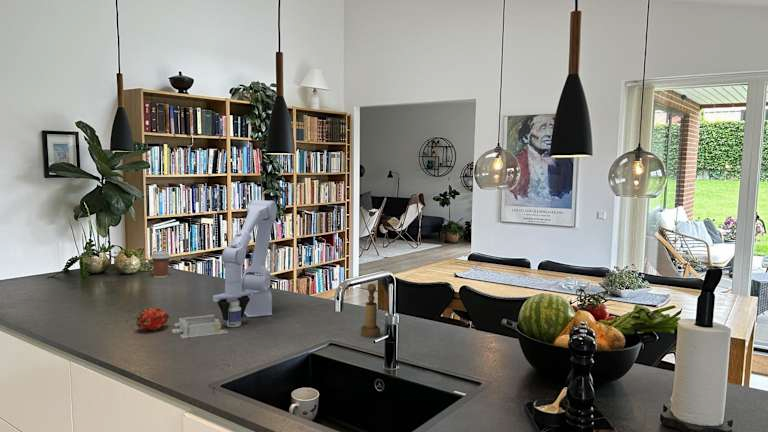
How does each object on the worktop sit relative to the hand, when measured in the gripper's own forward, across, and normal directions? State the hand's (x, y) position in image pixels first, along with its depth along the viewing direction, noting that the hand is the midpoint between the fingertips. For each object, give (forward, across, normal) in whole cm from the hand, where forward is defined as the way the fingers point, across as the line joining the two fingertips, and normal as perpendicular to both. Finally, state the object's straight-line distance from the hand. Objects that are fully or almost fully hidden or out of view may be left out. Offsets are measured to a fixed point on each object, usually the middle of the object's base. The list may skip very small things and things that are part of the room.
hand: (233, 318), depth 194 cm
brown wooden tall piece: (+3, -32, +38) cm, 50 cm away
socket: (+2, +12, -3) cm, 12 cm away
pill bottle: (+3, 0, 0) cm, 3 cm away
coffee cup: (+3, -12, -95) cm, 96 cm away
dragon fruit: (+3, +24, -12) cm, 27 cm away
